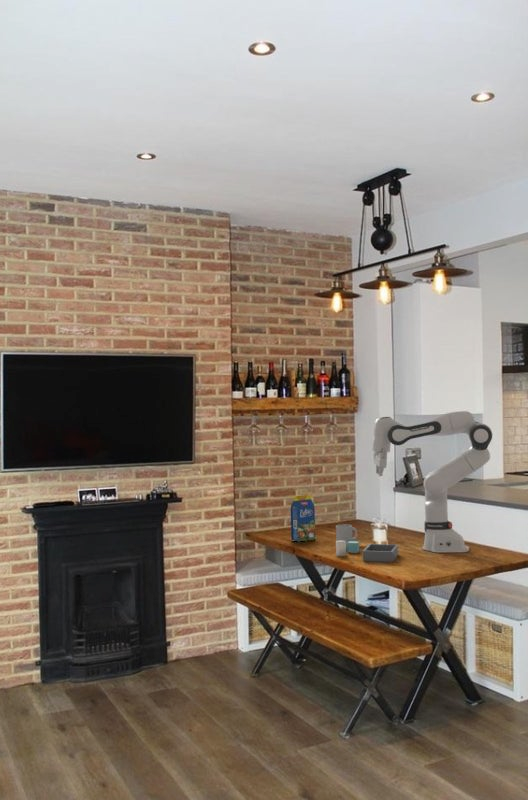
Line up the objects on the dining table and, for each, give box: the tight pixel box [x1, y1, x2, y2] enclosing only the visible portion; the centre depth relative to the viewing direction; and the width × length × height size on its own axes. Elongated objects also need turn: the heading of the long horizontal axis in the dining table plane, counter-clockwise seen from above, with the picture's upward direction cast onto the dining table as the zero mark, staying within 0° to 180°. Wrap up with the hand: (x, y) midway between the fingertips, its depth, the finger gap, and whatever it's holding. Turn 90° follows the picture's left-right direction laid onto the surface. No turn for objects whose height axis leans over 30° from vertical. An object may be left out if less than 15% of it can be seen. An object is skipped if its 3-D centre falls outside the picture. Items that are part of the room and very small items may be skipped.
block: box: [346, 540, 360, 554], centre depth 372 cm, size 5×5×5 cm
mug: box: [335, 523, 358, 549], centre depth 387 cm, size 12×8×11 cm
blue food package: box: [290, 493, 316, 543], centre depth 407 cm, size 6×12×25 cm, turn 124°
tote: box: [362, 543, 399, 563], centre depth 354 cm, size 14×18×5 cm
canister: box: [335, 540, 347, 557], centre depth 363 cm, size 5×5×7 cm
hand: (379, 474), depth 380 cm, fingers open, 8 cm apart
